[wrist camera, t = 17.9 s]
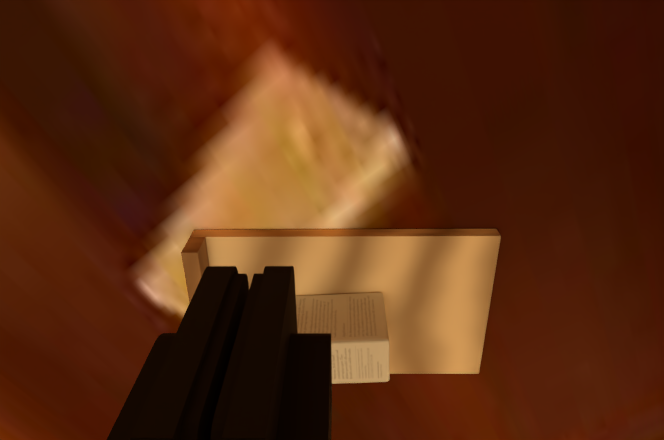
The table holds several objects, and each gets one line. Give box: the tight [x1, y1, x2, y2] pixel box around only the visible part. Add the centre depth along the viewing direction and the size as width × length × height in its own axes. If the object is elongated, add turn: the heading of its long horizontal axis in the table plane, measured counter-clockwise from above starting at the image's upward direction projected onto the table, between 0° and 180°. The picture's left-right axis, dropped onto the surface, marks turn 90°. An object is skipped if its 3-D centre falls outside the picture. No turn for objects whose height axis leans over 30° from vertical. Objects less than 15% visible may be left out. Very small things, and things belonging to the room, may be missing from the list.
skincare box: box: [296, 293, 390, 384], centre depth 39 cm, size 6×4×12 cm
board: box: [181, 229, 501, 374], centre depth 41 cm, size 24×14×4 cm, turn 91°
